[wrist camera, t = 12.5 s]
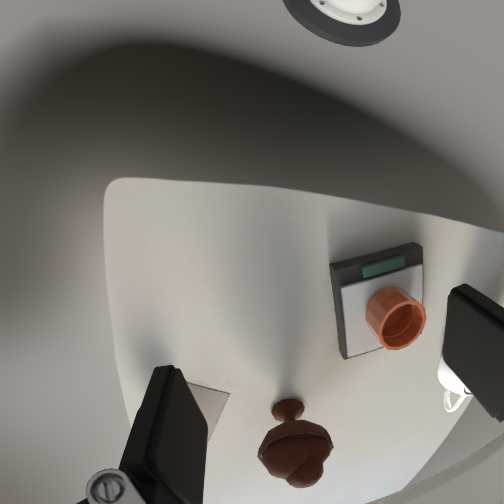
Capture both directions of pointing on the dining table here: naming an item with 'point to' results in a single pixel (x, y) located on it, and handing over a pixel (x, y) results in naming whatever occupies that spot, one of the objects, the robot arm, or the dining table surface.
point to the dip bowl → (395, 318)
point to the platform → (209, 404)
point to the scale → (371, 291)
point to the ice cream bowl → (295, 446)
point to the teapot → (451, 385)
